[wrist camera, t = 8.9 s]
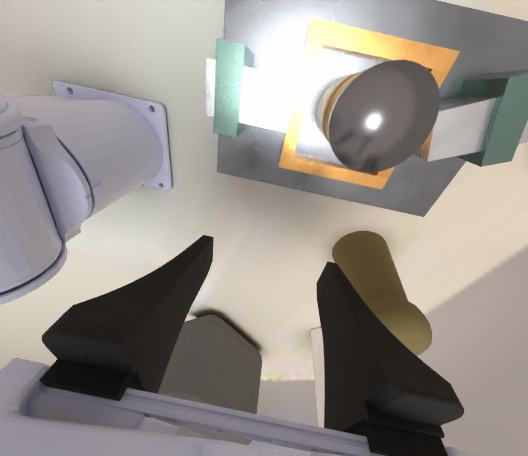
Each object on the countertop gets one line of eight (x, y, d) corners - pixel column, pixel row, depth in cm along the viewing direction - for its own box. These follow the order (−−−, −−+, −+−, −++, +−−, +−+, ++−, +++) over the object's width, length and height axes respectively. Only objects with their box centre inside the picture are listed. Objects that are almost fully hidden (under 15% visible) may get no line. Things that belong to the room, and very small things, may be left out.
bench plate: (219, 167, 20) (202, 185, 16) (230, -38, 12) (204, -93, 9) (420, 211, 20) (450, 239, 16) (548, 35, 13) (658, 12, 9)
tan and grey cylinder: (329, 154, 17) (349, 187, 11) (305, 100, 15) (313, 106, 9) (388, 122, 15) (447, 141, 9) (368, 55, 13) (428, 28, 7)
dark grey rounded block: (170, 318, 37) (107, 438, 24) (216, 303, 33) (168, 438, 20) (225, 358, 44) (198, 468, 31) (269, 350, 40) (258, 473, 27)
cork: (376, 222, 21) (439, 319, 12) (393, 259, 24) (456, 362, 15) (323, 244, 24) (343, 339, 15) (344, 276, 26) (371, 373, 17)
